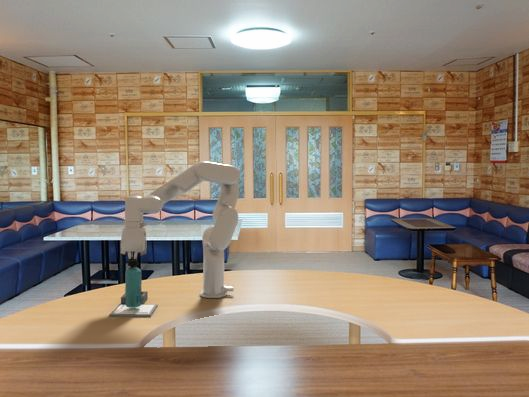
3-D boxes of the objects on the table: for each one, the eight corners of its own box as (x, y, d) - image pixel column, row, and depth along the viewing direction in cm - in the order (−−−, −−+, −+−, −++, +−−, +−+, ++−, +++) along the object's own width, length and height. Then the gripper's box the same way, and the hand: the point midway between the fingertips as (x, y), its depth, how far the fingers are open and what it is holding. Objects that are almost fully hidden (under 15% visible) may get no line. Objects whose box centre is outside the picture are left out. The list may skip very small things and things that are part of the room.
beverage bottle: (137, 312, 171) (137, 262, 170) (121, 310, 173) (121, 261, 171) (144, 307, 178) (144, 258, 176) (129, 305, 179) (129, 258, 178)
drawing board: (157, 306, 182) (157, 303, 182) (150, 316, 169) (150, 314, 169) (119, 306, 181) (119, 303, 181) (109, 316, 168) (109, 314, 168)
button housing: (147, 299, 192) (147, 291, 191) (142, 305, 183) (142, 297, 182) (126, 299, 191) (126, 291, 191) (121, 305, 182) (120, 297, 182)
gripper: (153, 224, 189) (152, 266, 190) (118, 223, 188) (118, 265, 189) (149, 226, 181) (148, 270, 182) (113, 225, 181) (112, 268, 182)
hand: (133, 267), depth 186 cm, fingers closed
